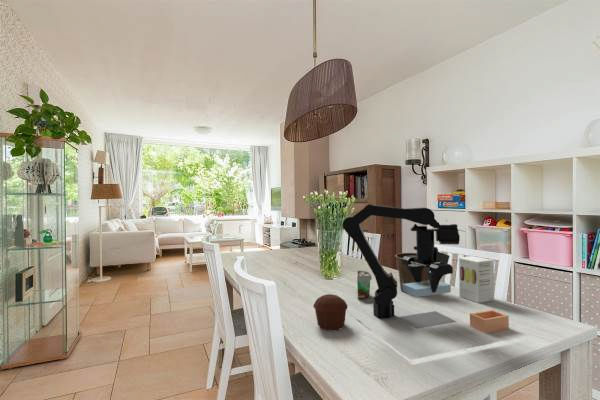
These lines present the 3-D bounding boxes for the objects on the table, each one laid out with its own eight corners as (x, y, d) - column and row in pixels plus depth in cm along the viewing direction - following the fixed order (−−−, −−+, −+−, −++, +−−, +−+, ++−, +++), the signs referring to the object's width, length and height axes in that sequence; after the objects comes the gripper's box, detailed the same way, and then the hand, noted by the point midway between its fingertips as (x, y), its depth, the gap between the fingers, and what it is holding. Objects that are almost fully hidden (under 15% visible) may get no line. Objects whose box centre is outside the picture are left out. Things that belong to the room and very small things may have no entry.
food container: (372, 301, 126) (372, 277, 126) (357, 300, 127) (357, 276, 127) (371, 292, 138) (371, 270, 138) (358, 291, 139) (357, 270, 139)
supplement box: (458, 296, 130) (457, 257, 130) (474, 293, 133) (473, 255, 133) (478, 303, 121) (478, 261, 121) (495, 300, 124) (494, 259, 124)
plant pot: (436, 297, 129) (435, 259, 129) (396, 295, 133) (396, 258, 133) (430, 286, 145) (429, 253, 145) (395, 284, 149) (394, 252, 149)
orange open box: (485, 336, 92) (485, 320, 92) (470, 328, 98) (469, 313, 98) (508, 331, 95) (508, 315, 95) (492, 324, 101) (492, 309, 101)
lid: (416, 297, 98) (415, 286, 98) (402, 291, 105) (402, 281, 105) (450, 292, 103) (450, 282, 103) (435, 286, 109) (435, 277, 109)
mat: (416, 331, 97) (416, 328, 97) (398, 319, 106) (398, 316, 106) (456, 324, 101) (456, 321, 101) (435, 313, 111) (435, 311, 111)
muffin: (351, 321, 106) (350, 292, 106) (343, 334, 96) (343, 303, 96) (319, 317, 110) (318, 289, 110) (308, 329, 100) (308, 299, 100)
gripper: (466, 246, 97) (467, 294, 97) (426, 239, 115) (427, 280, 115) (437, 248, 94) (438, 298, 94) (401, 241, 112) (402, 283, 112)
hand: (426, 289), depth 104 cm, fingers closed on lid, 7 cm apart
